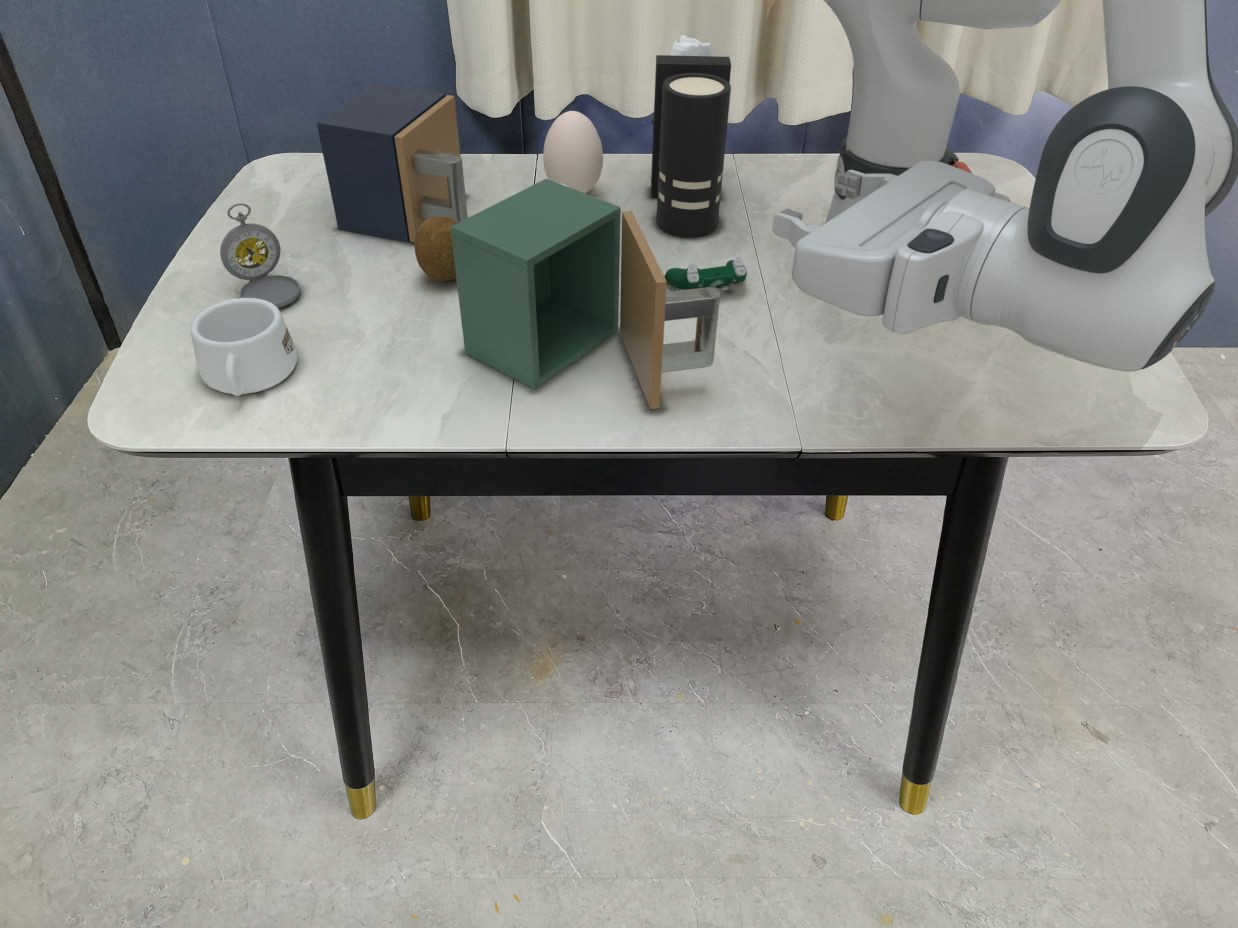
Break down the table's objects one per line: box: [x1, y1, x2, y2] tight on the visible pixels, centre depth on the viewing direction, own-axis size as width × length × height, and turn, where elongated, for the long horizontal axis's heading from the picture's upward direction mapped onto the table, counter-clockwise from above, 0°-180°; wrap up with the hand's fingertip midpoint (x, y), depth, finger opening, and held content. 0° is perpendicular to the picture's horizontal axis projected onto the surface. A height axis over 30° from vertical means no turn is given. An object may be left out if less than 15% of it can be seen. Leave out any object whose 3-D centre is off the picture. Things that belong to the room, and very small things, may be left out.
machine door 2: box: [619, 210, 721, 410], centre depth 93 cm, size 7×14×14 cm, turn 13°
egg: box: [542, 110, 604, 194], centre depth 123 cm, size 8×8×11 cm
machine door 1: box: [394, 94, 469, 243], centre depth 116 cm, size 7×14×14 cm, turn 162°
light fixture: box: [650, 54, 732, 238], centre depth 117 cm, size 10×14×18 cm
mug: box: [189, 297, 298, 397], centre depth 93 cm, size 12×10×6 cm
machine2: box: [451, 178, 622, 390], centre depth 96 cm, size 10×14×15 cm
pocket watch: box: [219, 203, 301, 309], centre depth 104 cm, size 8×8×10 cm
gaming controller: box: [664, 256, 748, 292], centre depth 108 cm, size 9×4×6 cm
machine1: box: [316, 82, 447, 243], centre depth 117 cm, size 10×14×14 cm
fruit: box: [413, 216, 457, 282], centre depth 107 cm, size 6×6×8 cm
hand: (810, 200), depth 77 cm, fingers open, 8 cm apart
